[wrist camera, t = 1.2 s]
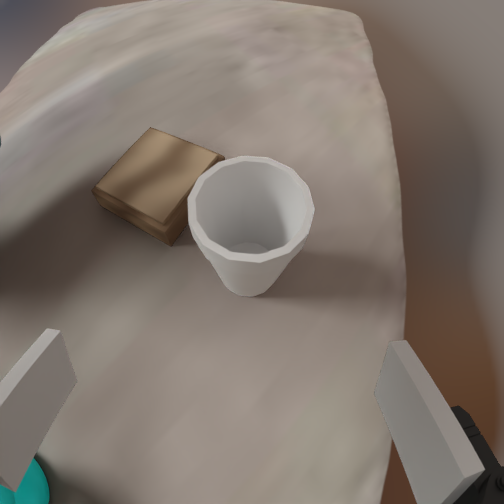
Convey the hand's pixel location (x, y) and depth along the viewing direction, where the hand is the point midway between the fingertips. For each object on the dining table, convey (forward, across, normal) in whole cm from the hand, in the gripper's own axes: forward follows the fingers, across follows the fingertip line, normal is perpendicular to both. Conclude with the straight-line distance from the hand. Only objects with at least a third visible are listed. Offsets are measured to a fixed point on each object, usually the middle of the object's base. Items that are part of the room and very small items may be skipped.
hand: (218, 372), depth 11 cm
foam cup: (+24, +1, -6) cm, 24 cm away
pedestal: (+31, -10, +2) cm, 32 cm away
